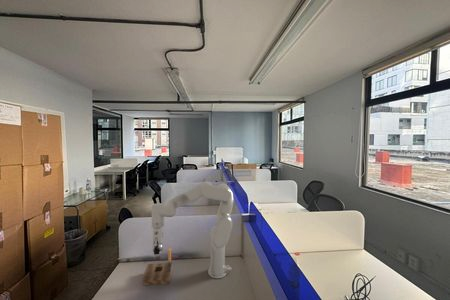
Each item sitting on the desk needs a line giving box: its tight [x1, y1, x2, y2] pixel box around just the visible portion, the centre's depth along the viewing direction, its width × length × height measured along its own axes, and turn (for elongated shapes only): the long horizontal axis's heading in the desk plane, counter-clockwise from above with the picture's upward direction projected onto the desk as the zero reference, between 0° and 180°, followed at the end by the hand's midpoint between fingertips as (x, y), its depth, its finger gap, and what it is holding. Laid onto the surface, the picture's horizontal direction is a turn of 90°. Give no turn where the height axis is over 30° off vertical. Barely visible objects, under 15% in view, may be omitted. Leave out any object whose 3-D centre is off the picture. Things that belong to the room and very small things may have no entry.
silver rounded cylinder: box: [152, 242, 164, 261], centre depth 134 cm, size 6×6×9 cm
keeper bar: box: [167, 247, 172, 263], centre depth 135 cm, size 9×3×1 cm
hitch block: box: [142, 257, 174, 287], centre depth 135 cm, size 16×12×11 cm
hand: (157, 250), depth 134 cm, fingers closed on silver rounded cylinder, 6 cm apart
